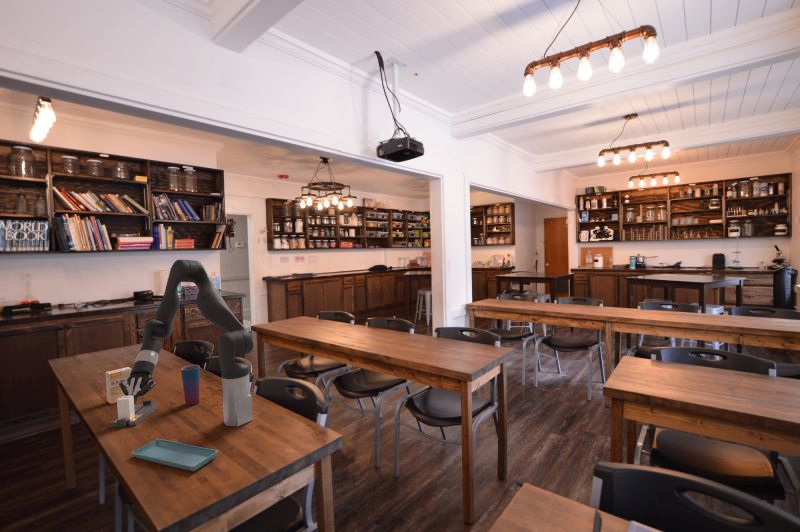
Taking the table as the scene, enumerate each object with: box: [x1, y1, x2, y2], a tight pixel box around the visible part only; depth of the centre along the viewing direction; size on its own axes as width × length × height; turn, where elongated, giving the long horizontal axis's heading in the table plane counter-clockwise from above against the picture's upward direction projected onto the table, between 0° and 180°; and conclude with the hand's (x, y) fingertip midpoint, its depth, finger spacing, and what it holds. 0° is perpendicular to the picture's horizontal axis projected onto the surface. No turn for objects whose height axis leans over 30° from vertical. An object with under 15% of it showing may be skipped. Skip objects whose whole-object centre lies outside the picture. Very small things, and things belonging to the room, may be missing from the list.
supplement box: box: [105, 366, 132, 405], centre depth 161 cm, size 8×5×13 cm, turn 143°
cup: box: [180, 364, 201, 406], centre depth 156 cm, size 7×7×15 cm
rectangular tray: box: [130, 438, 219, 472], centre depth 116 cm, size 26×9×2 cm, turn 70°
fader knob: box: [116, 396, 135, 420], centre depth 139 cm, size 3×4×8 cm
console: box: [109, 399, 160, 429], centre depth 145 cm, size 18×9×3 cm, turn 7°
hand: (129, 406), depth 141 cm, fingers closed
